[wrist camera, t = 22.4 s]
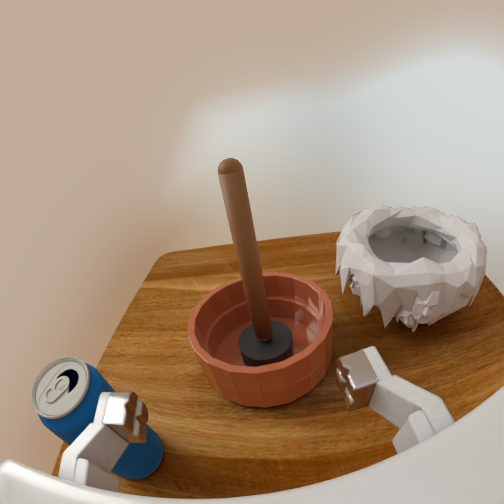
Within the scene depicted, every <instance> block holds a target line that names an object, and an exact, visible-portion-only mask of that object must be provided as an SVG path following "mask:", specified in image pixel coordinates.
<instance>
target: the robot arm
mask: <svg viewBox="0 0 504 504" xmlns="http://www.w3.org/2000/svg"><path fill="white" fill-rule="evenodd" d="M336 363H337V366H338V368H337V369H336V374H335V375H336V381H337V384H338V387H339V390H340V391H342V392H343V393H344V398H343V400H344V402H345V405H346V407H347V409H348V412H350V411H353V410H357V409H360V408H363V407H365V406H368V405H369V406H368V407H369V408H371V409H372V410H374V411H375V412H377V413H378V414H379V415H381V416H382V417H384V418H385V419H387V420H388V421H389V422H391V423H392V424H394V425H395V426H397V427H398V428H400V430H399V431H398V433H397V434H396V435H395V437H394V438H393V440H392V442H393V445H394V447H395V449H396V452H397V455H395V456H392V457H390V458H388V459H386V460H383V461H381V462H378V463H376V464H374V465H371V466H369V467H366V468H363V469H361V470H358V471H355V472H352V473H349V474H346V475H343V476H340V477H337V478H334V479H330V480H327V481H323V482H320V483H316V484H312V485H308V486H304V487H299V488H295V489H290V490H285V491H279V492H274V493H267V494H261V495H253V496H244V497H233V498H217V499H174V498H158V497H148V496H139V495H132V494H125V493H119V487H120V479H119V478H118V477H116V476H114V475H113V474H111V473H110V472H111V470H112V469H113V467H114V466H115V464H116V463H117V461H118V460H119V458H120V457H121V455H122V454H123V452H124V451H125V449H126V448H127V446H128V445H129V443H146V433H147V430H146V428H145V426H144V425H145V424H146V423H147V421H148V411H147V408H146V406H145V404H144V403H143V402H142V401H140V400H138V399H137V397H138V396H137V395H136V394H135V393H134V392H102V393H101V395H100V397H99V401H98V405H97V409H96V413H95V417H94V422H93V423H90V424H89V425H88V426H87V428H86V429H85V430H84V431H83V432H82V433H81V434H80V435H79V436H78V437H77V438H76V439H75V441H74V442H73V443H72V444H71V445H70V446H69V447H68V448H67V449H66V450H65V451H64V453H63V455H62V459H61V464H60V470H59V475H58V477H55V476H52V475H50V474H47V473H44V472H41V471H39V470H36V469H34V468H31V467H29V466H26V465H24V464H21V463H19V462H17V461H15V460H12V459H7V460H5V461H4V462H2V463H1V464H0V504H504V385H503V386H502V387H501V388H500V389H499V390H498V391H496V392H495V393H494V394H493V395H492V396H490V397H489V398H488V399H487V400H485V401H484V402H483V403H481V404H480V405H479V406H477V407H476V408H475V409H473V410H472V411H471V412H469V413H468V414H466V415H465V416H463V417H462V418H461V419H459V420H458V421H456V422H455V421H454V420H453V418H452V416H451V414H450V413H449V411H448V409H447V407H446V406H445V404H444V402H443V401H442V399H441V397H439V396H437V395H434V394H432V393H430V392H428V391H426V390H424V389H422V388H420V387H418V386H416V385H414V384H412V383H410V382H408V381H406V380H405V379H403V378H401V377H399V376H397V375H394V376H392V375H391V373H390V371H389V370H388V368H387V366H386V364H385V363H384V361H383V359H382V358H381V356H380V354H379V352H378V351H377V349H376V348H375V347H374V346H371V347H368V348H365V349H362V350H358V351H355V352H353V353H350V354H347V355H344V356H340V357H338V358H337V362H336Z"/></svg>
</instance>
